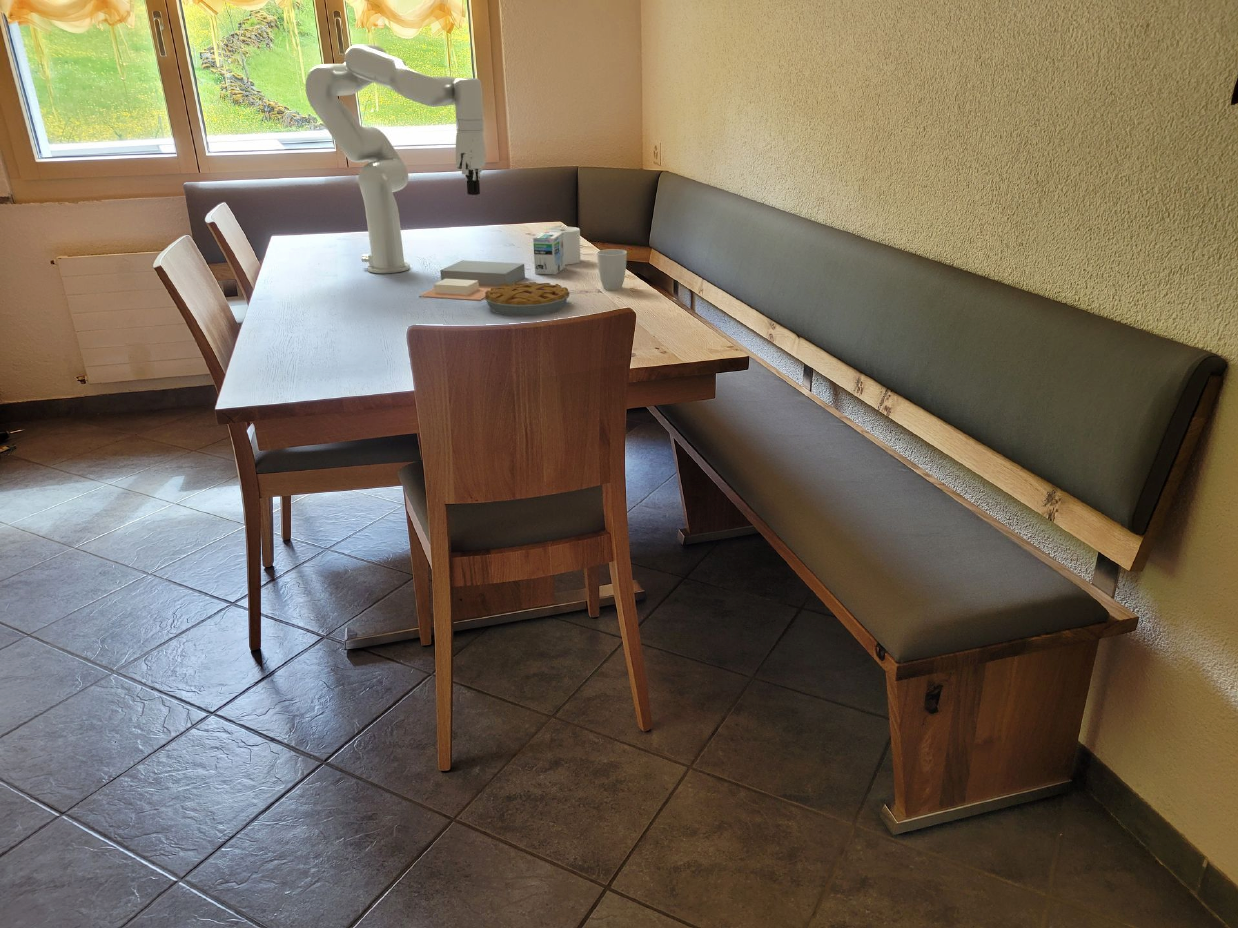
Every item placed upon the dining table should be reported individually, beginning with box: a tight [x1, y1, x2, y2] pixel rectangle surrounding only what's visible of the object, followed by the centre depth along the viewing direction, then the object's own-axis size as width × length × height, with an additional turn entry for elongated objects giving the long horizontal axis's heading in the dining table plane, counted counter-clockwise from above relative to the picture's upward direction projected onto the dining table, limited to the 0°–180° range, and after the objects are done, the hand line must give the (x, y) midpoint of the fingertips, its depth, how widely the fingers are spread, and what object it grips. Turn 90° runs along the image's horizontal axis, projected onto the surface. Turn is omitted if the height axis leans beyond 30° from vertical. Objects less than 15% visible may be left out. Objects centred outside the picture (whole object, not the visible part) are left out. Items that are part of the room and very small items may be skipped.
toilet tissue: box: [545, 224, 582, 266], centre depth 276 cm, size 11×12×10 cm
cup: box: [596, 248, 628, 291], centre depth 242 cm, size 8×8×10 cm
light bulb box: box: [532, 231, 565, 275], centre depth 264 cm, size 11×7×11 cm, turn 168°
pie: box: [482, 281, 571, 317], centre depth 226 cm, size 22×22×5 cm
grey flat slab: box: [439, 259, 526, 287], centre depth 254 cm, size 20×14×4 cm
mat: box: [418, 285, 497, 302], centre depth 242 cm, size 18×15×1 cm
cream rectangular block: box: [433, 279, 479, 295], centre depth 242 cm, size 10×7×2 cm
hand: (473, 194), depth 252 cm, fingers closed
